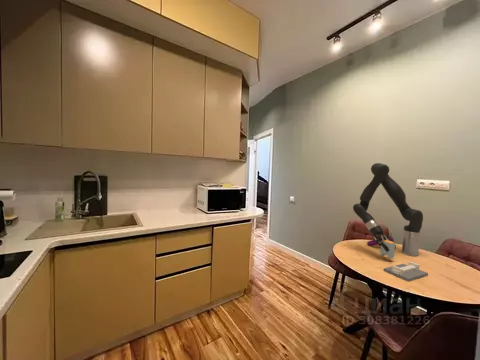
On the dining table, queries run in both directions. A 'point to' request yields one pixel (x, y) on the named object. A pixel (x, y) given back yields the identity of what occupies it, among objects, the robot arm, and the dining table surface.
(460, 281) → the dining table surface
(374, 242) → the mounting bracket
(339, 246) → the dining table surface
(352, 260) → the dining table surface
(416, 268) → the mounting board
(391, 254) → the plate
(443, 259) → the dining table surface
